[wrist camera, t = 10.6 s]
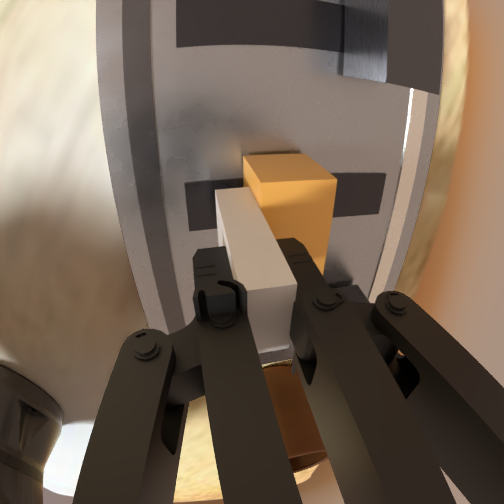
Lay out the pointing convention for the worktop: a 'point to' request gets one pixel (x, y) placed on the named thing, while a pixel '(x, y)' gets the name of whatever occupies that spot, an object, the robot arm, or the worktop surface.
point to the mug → (295, 418)
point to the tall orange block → (294, 198)
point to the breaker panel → (266, 127)
